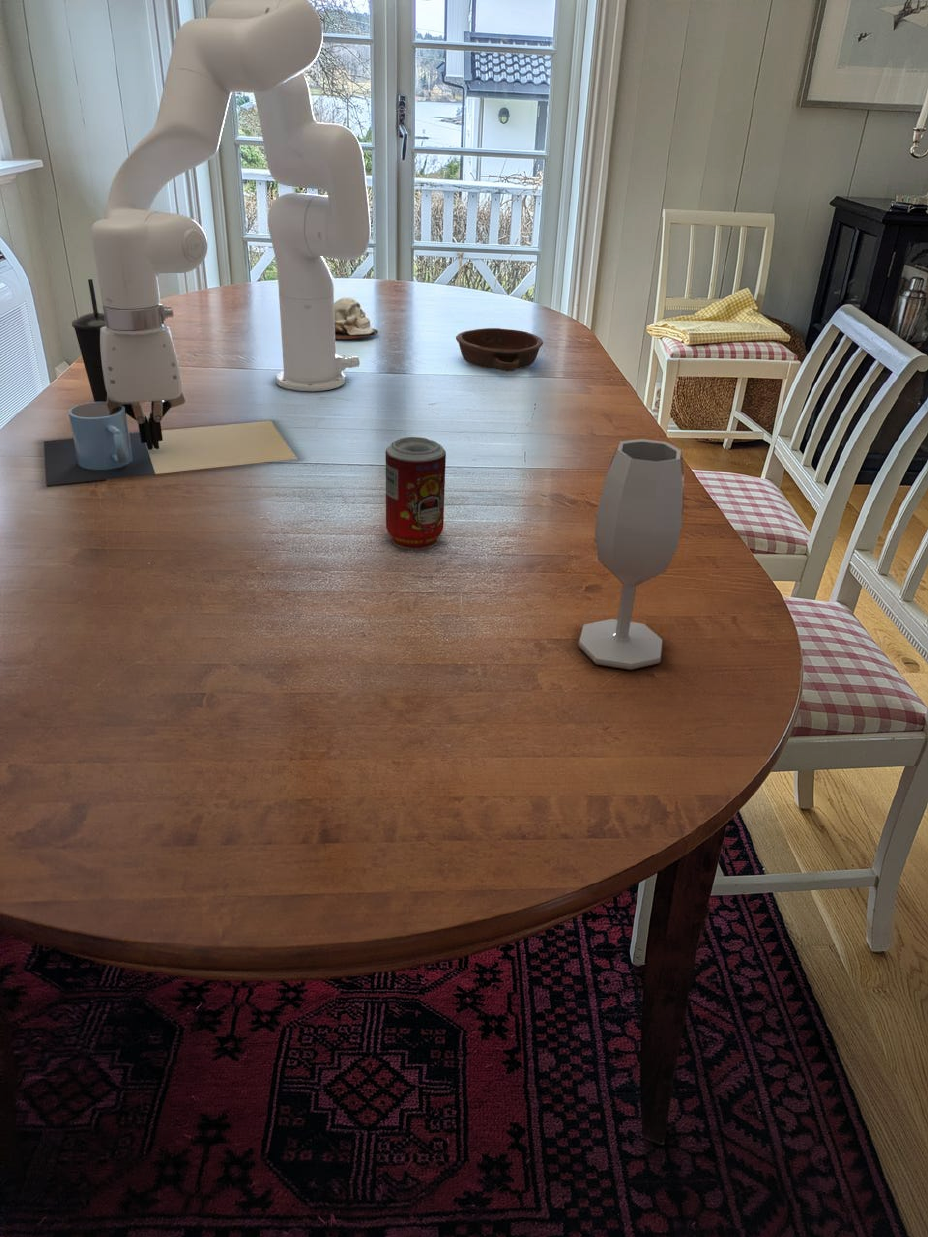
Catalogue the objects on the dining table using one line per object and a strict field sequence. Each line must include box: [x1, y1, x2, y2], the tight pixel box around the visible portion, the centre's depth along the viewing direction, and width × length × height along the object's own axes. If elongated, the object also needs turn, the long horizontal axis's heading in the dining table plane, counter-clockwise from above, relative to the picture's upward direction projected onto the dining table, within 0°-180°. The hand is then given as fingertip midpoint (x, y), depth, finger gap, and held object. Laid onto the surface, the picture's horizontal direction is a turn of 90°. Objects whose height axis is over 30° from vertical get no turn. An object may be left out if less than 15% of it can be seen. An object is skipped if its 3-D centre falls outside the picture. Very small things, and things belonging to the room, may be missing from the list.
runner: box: [43, 420, 298, 488], centre depth 134 cm, size 34×18×1 cm, turn 113°
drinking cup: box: [71, 278, 107, 402], centre depth 146 cm, size 8×8×20 cm
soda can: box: [384, 436, 447, 551], centre depth 108 cm, size 7×7×12 cm
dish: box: [455, 327, 544, 372], centre depth 182 cm, size 18×22×5 cm
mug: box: [67, 401, 133, 470], centre depth 126 cm, size 10×7×8 cm
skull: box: [334, 297, 379, 340], centre depth 197 cm, size 12×10×10 cm
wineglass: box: [577, 438, 685, 671], centre depth 86 cm, size 9×9×21 cm
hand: (152, 446), depth 133 cm, fingers closed
